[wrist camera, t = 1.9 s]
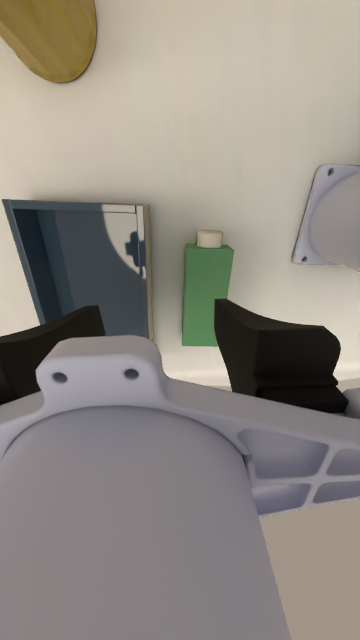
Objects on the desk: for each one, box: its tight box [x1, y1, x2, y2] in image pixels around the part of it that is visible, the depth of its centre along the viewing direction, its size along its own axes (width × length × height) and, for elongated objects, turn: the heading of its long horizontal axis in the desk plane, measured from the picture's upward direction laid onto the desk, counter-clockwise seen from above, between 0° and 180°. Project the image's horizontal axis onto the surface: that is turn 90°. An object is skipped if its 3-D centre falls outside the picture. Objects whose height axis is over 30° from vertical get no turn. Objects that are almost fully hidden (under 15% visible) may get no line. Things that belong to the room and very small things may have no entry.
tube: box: [182, 231, 234, 346], centre depth 22 cm, size 12×4×3 cm, turn 178°
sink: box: [2, 199, 153, 342], centre depth 21 cm, size 10×16×4 cm, turn 178°
